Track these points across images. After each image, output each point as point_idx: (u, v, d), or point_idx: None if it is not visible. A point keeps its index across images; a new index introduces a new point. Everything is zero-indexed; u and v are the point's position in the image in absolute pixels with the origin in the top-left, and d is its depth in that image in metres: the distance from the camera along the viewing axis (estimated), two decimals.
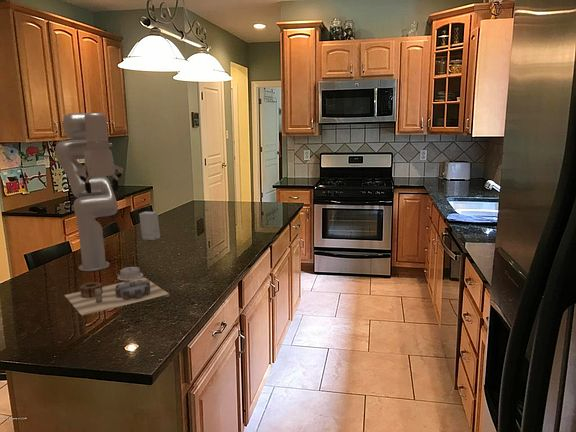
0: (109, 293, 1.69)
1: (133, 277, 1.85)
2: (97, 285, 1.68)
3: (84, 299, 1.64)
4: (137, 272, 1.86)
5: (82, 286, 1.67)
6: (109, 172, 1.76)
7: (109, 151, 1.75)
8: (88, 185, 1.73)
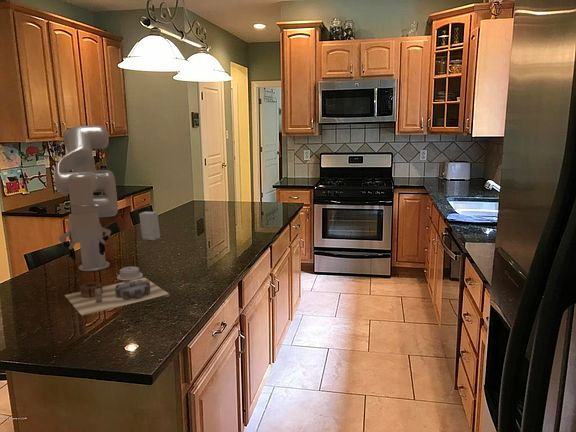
0: (109, 293, 1.69)
1: (132, 277, 1.85)
2: (97, 285, 1.68)
3: (84, 299, 1.64)
4: (136, 272, 1.87)
5: (82, 286, 1.67)
6: (94, 236, 1.64)
7: (95, 214, 1.63)
8: (72, 251, 1.61)
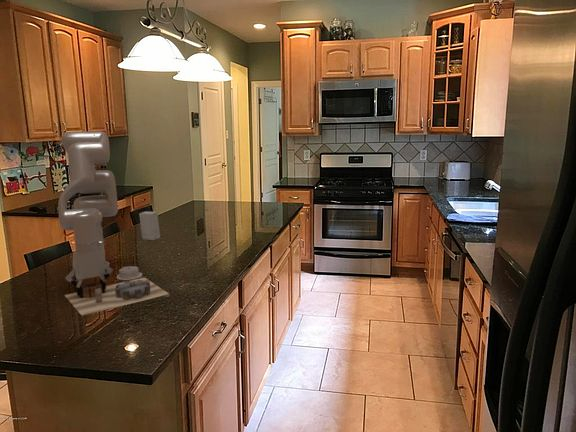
0: (109, 293, 1.69)
1: (132, 276, 1.86)
2: (97, 285, 1.68)
3: (84, 299, 1.64)
4: (136, 271, 1.87)
5: (82, 286, 1.67)
6: (98, 272, 1.67)
7: (99, 251, 1.66)
8: (79, 289, 1.65)
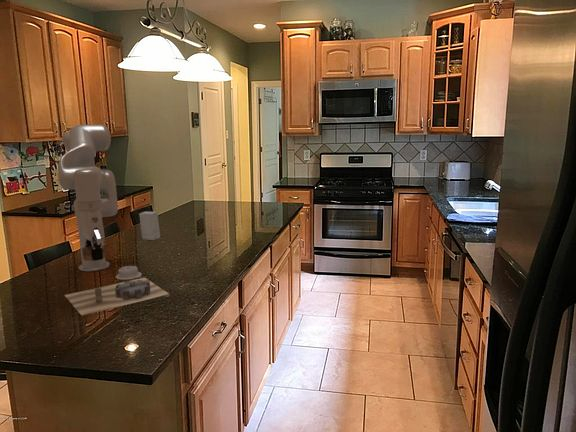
0: (109, 293, 1.69)
1: (131, 276, 1.86)
2: (89, 249, 1.55)
3: (84, 299, 1.64)
4: (135, 271, 1.87)
5: None
6: (87, 236, 1.53)
7: (86, 214, 1.51)
8: None
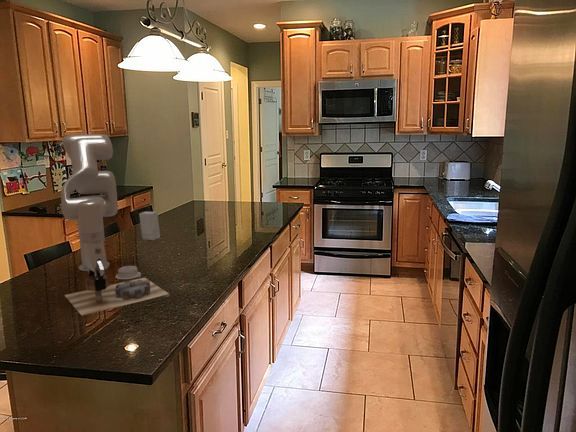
0: (109, 293, 1.69)
1: (131, 276, 1.86)
2: (92, 279, 1.57)
3: (84, 299, 1.64)
4: (135, 271, 1.88)
5: None
6: (90, 267, 1.56)
7: (89, 245, 1.53)
8: None
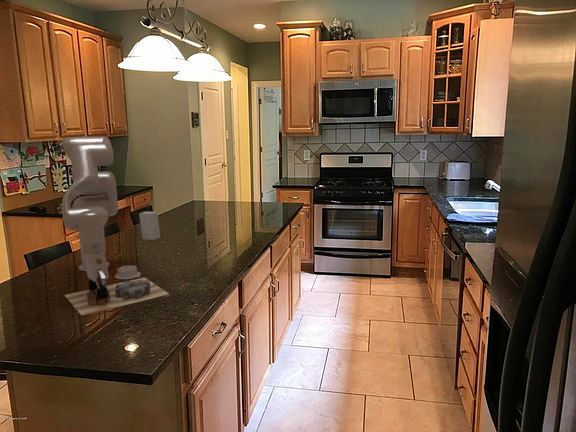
0: None
1: (130, 276, 1.87)
2: (94, 294, 1.59)
3: (84, 299, 1.64)
4: (134, 271, 1.88)
5: None
6: (91, 277, 1.56)
7: (90, 255, 1.54)
8: None
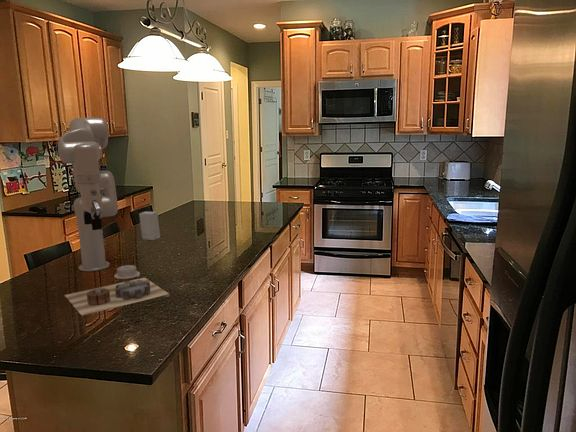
0: None
1: (130, 275, 1.87)
2: (94, 294, 1.59)
3: (84, 299, 1.64)
4: (134, 270, 1.88)
5: None
6: (86, 208, 1.62)
7: (85, 187, 1.59)
8: None
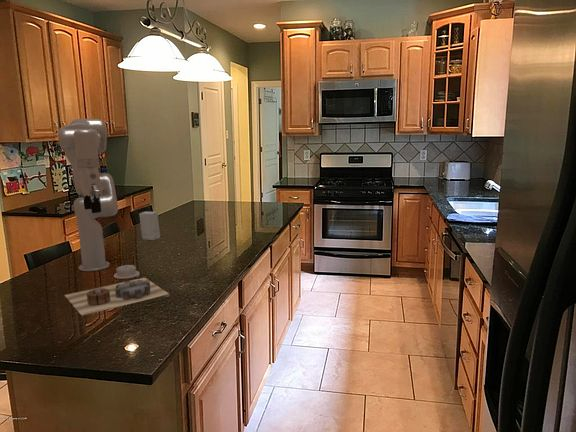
0: None
1: (129, 275, 1.87)
2: (94, 294, 1.59)
3: (84, 299, 1.64)
4: (133, 270, 1.89)
5: None
6: (86, 192, 1.66)
7: (85, 170, 1.64)
8: None
